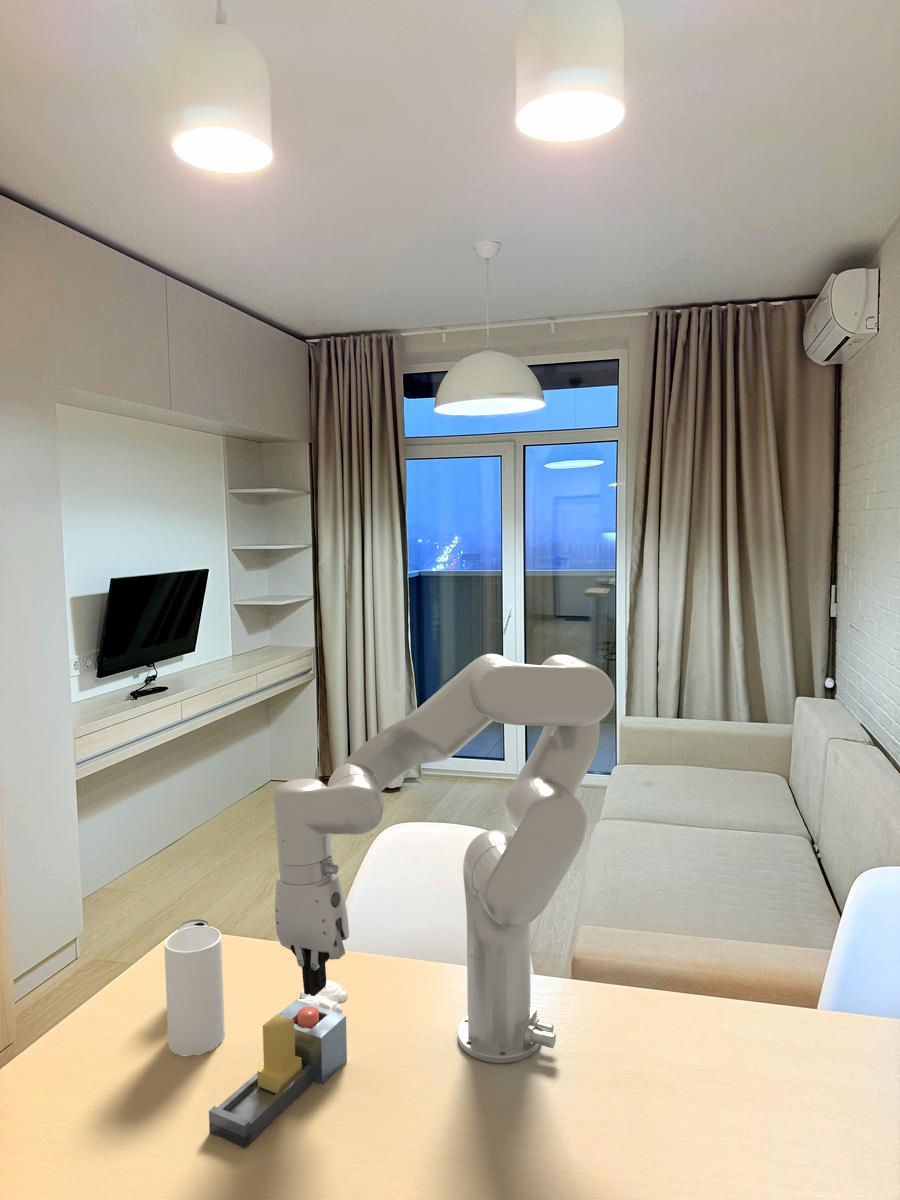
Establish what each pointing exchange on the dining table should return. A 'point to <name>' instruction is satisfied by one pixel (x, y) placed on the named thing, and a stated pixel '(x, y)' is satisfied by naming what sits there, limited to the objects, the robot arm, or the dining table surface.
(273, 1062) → the block
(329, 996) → the astronaut figurine
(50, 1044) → the dining table surface
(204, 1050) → the cup
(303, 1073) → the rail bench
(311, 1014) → the button
